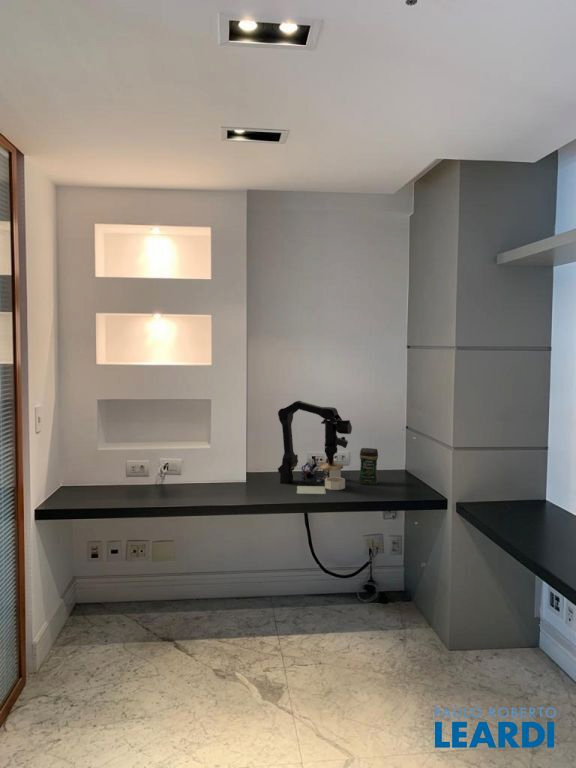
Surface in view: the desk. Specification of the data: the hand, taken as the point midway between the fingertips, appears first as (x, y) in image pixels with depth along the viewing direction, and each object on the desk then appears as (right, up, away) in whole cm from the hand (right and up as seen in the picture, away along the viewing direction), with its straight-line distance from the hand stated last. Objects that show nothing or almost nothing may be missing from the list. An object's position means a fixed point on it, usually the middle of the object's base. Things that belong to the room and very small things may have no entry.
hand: (330, 463), depth 290 cm
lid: (0, -2, 0) cm, 2 cm away
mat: (-10, -13, -3) cm, 17 cm away
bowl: (+2, -13, +2) cm, 13 cm away
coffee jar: (+21, -12, +13) cm, 27 cm away
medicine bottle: (+2, -12, +18) cm, 22 cm away
